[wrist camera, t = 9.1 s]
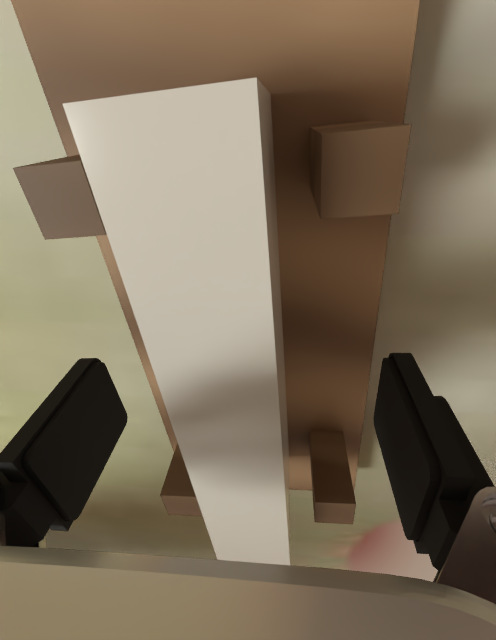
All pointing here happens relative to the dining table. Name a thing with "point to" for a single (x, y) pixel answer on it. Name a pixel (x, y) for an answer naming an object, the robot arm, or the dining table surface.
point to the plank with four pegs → (290, 179)
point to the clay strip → (204, 288)
